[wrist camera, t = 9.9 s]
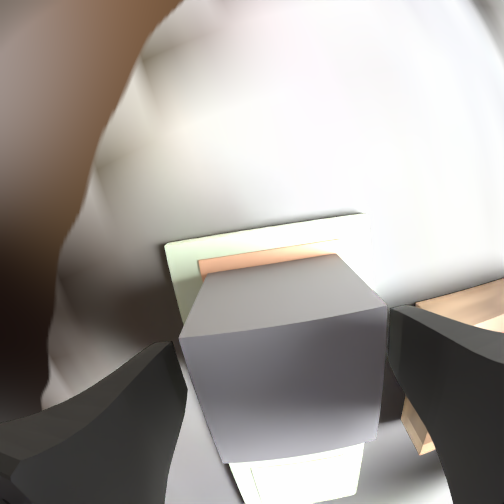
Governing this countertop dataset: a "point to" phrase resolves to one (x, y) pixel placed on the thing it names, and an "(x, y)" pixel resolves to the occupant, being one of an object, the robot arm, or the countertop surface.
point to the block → (287, 358)
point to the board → (267, 252)
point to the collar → (466, 311)
